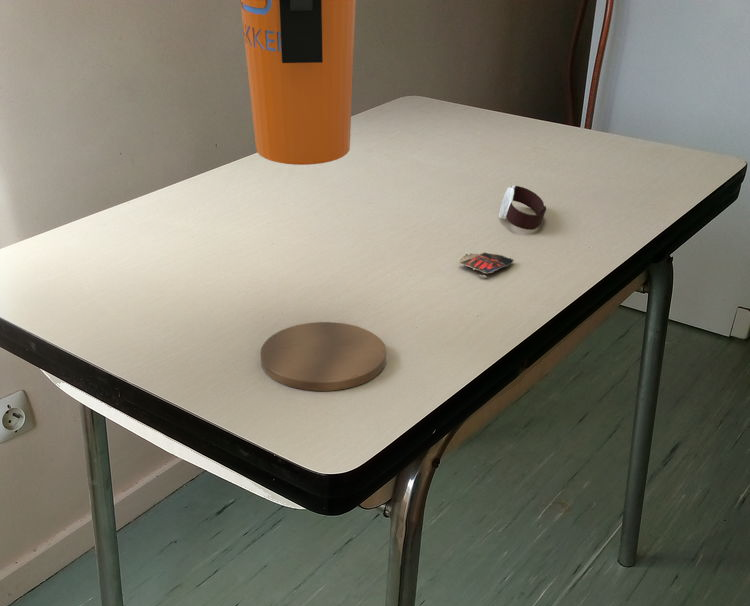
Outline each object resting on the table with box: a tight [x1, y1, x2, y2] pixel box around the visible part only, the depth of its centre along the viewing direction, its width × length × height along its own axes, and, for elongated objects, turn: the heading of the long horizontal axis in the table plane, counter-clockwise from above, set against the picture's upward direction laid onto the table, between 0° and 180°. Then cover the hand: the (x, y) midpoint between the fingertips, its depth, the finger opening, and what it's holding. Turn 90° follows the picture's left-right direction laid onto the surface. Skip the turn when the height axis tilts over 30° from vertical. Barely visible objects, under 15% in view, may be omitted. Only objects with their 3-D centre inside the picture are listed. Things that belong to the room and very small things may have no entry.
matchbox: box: [457, 251, 514, 280], centre depth 95 cm, size 5×5×1 cm
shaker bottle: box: [239, 0, 357, 166], centre depth 70 cm, size 9×9×20 cm
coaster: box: [260, 321, 387, 392], centre depth 80 cm, size 10×10×1 cm
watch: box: [498, 185, 547, 231], centre depth 103 cm, size 8×5×4 cm, turn 177°
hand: (299, 44), depth 71 cm, fingers closed on shaker bottle, 9 cm apart
